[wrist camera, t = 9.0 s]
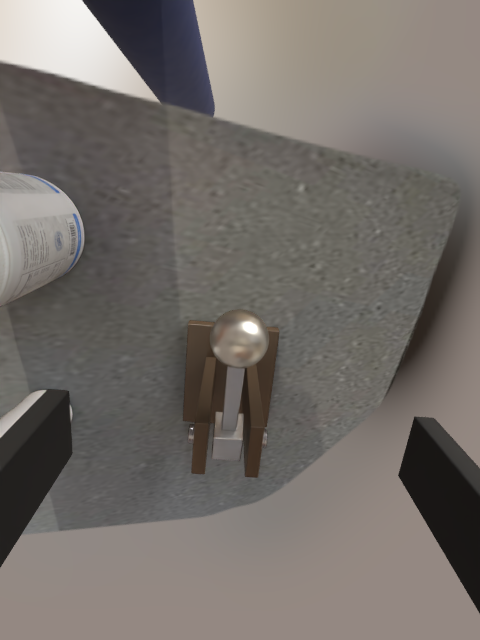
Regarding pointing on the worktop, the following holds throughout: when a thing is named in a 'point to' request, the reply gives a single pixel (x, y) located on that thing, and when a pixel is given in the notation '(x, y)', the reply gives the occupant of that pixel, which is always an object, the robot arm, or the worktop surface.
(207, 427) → the bracket
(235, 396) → the tap lever
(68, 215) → the supplement tub
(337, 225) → the worktop surface
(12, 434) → the robot arm
